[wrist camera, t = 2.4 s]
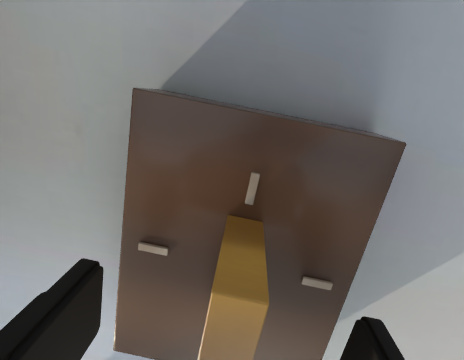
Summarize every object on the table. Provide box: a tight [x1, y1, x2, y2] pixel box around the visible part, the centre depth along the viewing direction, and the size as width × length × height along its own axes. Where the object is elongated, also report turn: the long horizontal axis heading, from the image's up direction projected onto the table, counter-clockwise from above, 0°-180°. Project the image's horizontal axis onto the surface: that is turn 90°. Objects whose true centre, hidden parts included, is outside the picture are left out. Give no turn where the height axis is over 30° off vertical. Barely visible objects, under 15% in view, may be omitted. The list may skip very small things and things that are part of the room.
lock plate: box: [113, 88, 406, 360], centre depth 14 cm, size 14×11×3 cm
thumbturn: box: [197, 215, 269, 360], centre depth 10 cm, size 5×2×5 cm, turn 169°
